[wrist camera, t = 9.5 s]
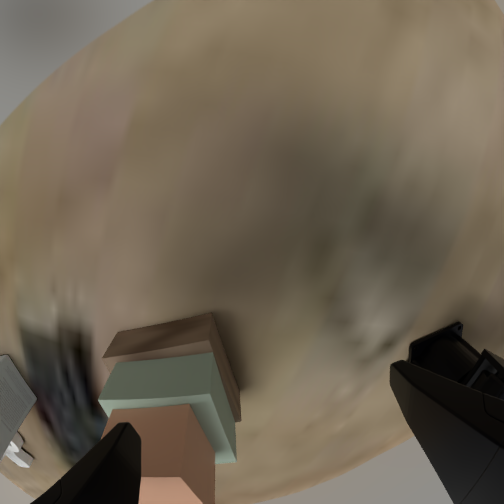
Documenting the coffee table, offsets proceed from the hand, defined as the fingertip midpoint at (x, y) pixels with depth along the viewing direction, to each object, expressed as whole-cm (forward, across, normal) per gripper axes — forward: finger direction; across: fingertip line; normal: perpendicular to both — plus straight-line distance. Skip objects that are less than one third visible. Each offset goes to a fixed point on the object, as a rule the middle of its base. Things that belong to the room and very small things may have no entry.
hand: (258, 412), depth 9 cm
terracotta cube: (+5, +7, +6) cm, 11 cm away
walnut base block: (+13, +7, +6) cm, 16 cm away
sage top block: (+9, +7, +7) cm, 13 cm away
